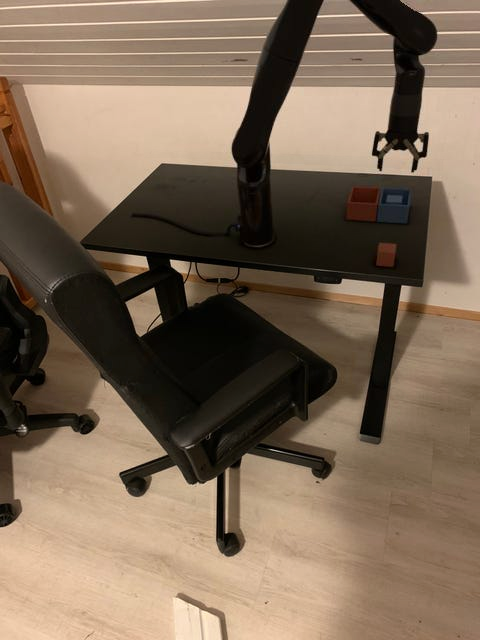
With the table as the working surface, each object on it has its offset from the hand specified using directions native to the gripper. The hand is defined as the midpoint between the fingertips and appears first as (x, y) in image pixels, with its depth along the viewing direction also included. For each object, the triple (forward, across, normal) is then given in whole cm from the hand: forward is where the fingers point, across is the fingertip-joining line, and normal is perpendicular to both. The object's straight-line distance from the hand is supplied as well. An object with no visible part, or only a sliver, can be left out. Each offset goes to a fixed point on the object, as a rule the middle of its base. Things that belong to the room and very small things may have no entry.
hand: (396, 170), depth 130 cm
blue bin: (+15, +1, +4) cm, 16 cm away
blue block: (+15, +1, +4) cm, 15 cm away
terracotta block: (+15, 0, -22) cm, 27 cm away
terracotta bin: (+15, -8, +4) cm, 18 cm away
